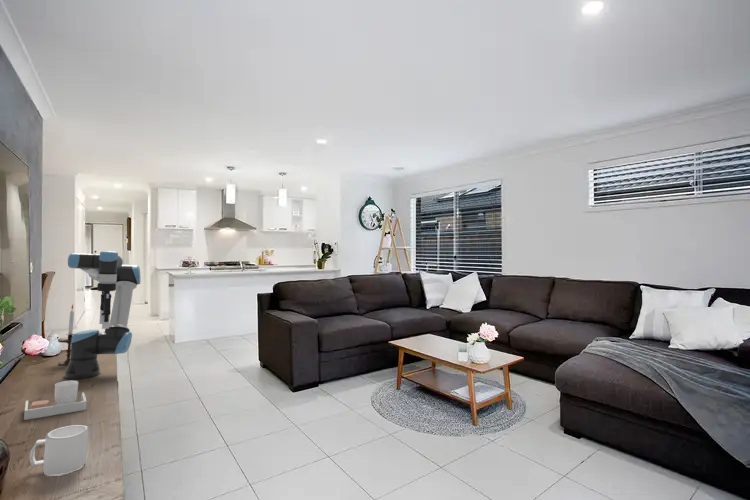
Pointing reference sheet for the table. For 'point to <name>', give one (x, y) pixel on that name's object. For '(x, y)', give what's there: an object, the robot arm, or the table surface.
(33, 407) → the salmon pink block
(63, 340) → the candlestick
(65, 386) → the white cup
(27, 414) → the frame
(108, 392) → the table surface
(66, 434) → the mug
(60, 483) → the table surface
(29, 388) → the table surface
